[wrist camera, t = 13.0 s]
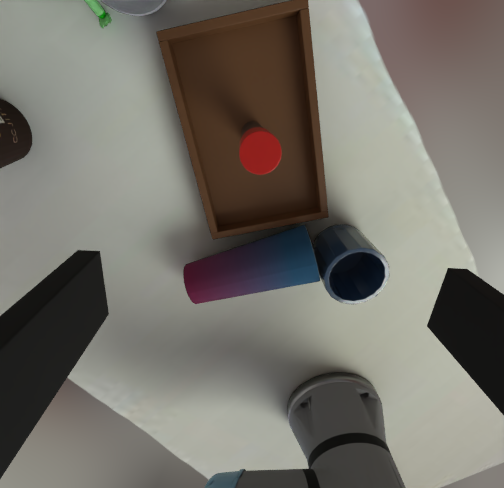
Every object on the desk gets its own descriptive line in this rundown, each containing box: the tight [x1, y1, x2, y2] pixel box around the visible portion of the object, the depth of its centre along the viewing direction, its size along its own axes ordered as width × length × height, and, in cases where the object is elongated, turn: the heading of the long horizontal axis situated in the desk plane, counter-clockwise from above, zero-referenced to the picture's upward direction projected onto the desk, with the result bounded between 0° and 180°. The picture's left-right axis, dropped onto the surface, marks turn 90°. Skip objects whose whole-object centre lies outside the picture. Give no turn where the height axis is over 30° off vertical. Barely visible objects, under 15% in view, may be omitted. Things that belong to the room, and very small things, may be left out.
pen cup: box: [312, 224, 389, 304], centre depth 36 cm, size 7×7×7 cm
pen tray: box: [156, 0, 328, 239], centre depth 32 cm, size 21×14×3 cm, turn 11°
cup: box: [184, 225, 320, 304], centre depth 37 cm, size 7×7×15 cm
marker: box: [239, 121, 282, 175], centre depth 26 cm, size 3×3×16 cm
